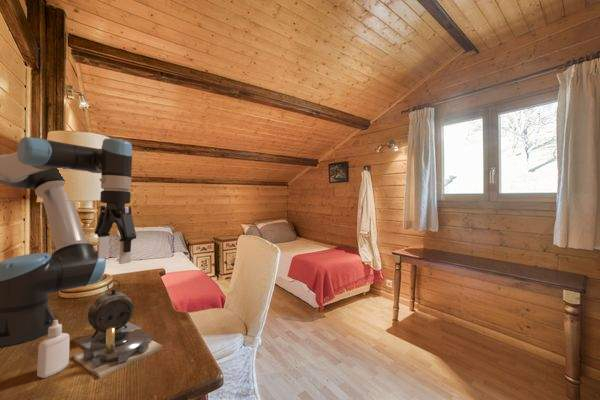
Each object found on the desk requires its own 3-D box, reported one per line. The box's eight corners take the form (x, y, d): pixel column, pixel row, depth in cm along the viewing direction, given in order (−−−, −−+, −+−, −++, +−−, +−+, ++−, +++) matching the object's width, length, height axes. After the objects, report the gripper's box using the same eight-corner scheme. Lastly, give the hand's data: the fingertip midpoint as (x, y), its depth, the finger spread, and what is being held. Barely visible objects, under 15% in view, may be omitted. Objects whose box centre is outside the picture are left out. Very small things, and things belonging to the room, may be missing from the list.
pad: (75, 342, 75) (75, 339, 75) (128, 323, 87) (128, 321, 87) (88, 350, 71) (88, 348, 71) (141, 330, 83) (141, 327, 83)
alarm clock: (128, 325, 85) (130, 274, 85) (135, 330, 82) (137, 278, 82) (86, 337, 76) (88, 282, 77) (91, 344, 73) (93, 286, 73)
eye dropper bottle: (70, 369, 63) (72, 319, 63) (37, 381, 59) (39, 327, 59) (67, 362, 66) (69, 314, 66) (35, 372, 62) (38, 321, 62)
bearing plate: (72, 357, 68) (72, 354, 68) (133, 333, 81) (134, 330, 81) (99, 378, 60) (99, 374, 60) (162, 348, 73) (162, 345, 73)
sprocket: (83, 374, 60) (85, 339, 60) (82, 346, 71) (84, 317, 71) (157, 351, 69) (158, 321, 70) (145, 330, 81) (146, 304, 81)
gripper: (83, 190, 83) (81, 256, 83) (123, 189, 70) (120, 268, 70) (110, 191, 90) (108, 253, 89) (151, 190, 77) (148, 263, 76)
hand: (113, 260), depth 80 cm, fingers open, 13 cm apart
